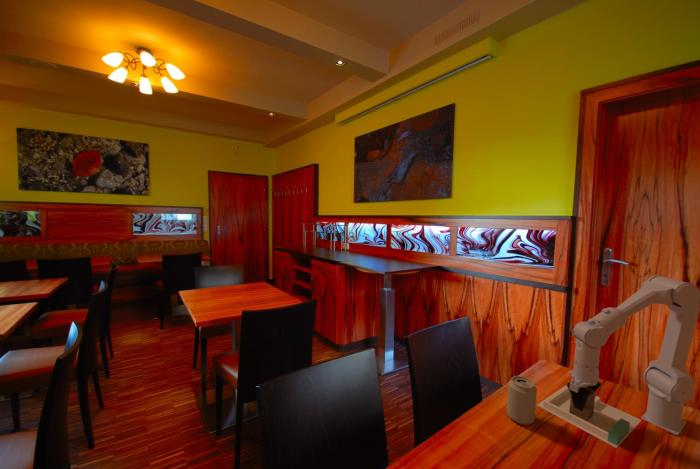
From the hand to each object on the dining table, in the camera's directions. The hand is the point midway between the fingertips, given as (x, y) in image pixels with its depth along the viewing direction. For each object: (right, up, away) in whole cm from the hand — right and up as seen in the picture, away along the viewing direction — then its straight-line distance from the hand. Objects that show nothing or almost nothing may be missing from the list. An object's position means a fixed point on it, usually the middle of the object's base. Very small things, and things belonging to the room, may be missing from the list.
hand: (582, 405), depth 94 cm
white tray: (+3, -4, +3) cm, 6 cm away
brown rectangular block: (0, -3, 0) cm, 3 cm away
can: (-18, -4, +1) cm, 19 cm away
